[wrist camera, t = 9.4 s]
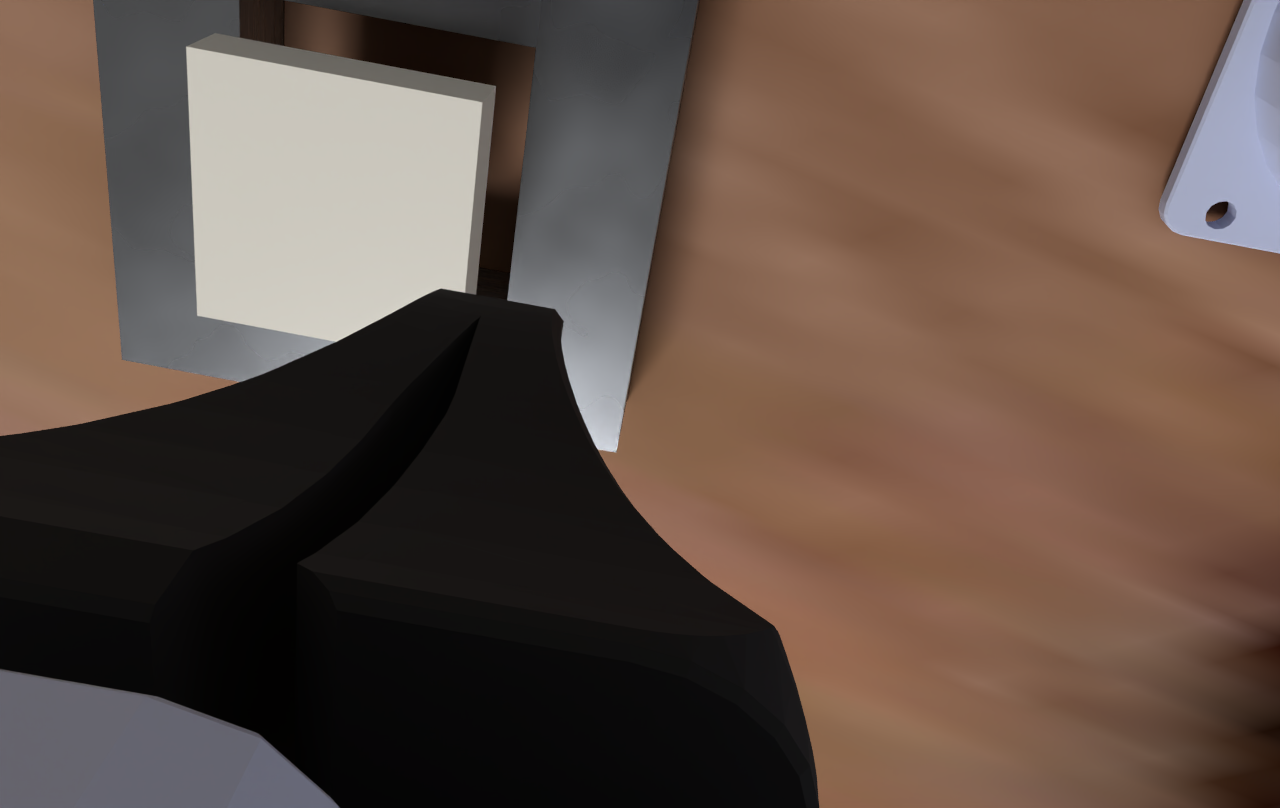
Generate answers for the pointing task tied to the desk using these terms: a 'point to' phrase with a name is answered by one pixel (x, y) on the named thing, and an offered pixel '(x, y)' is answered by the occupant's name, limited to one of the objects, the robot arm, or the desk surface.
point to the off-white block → (330, 185)
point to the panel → (549, 192)
